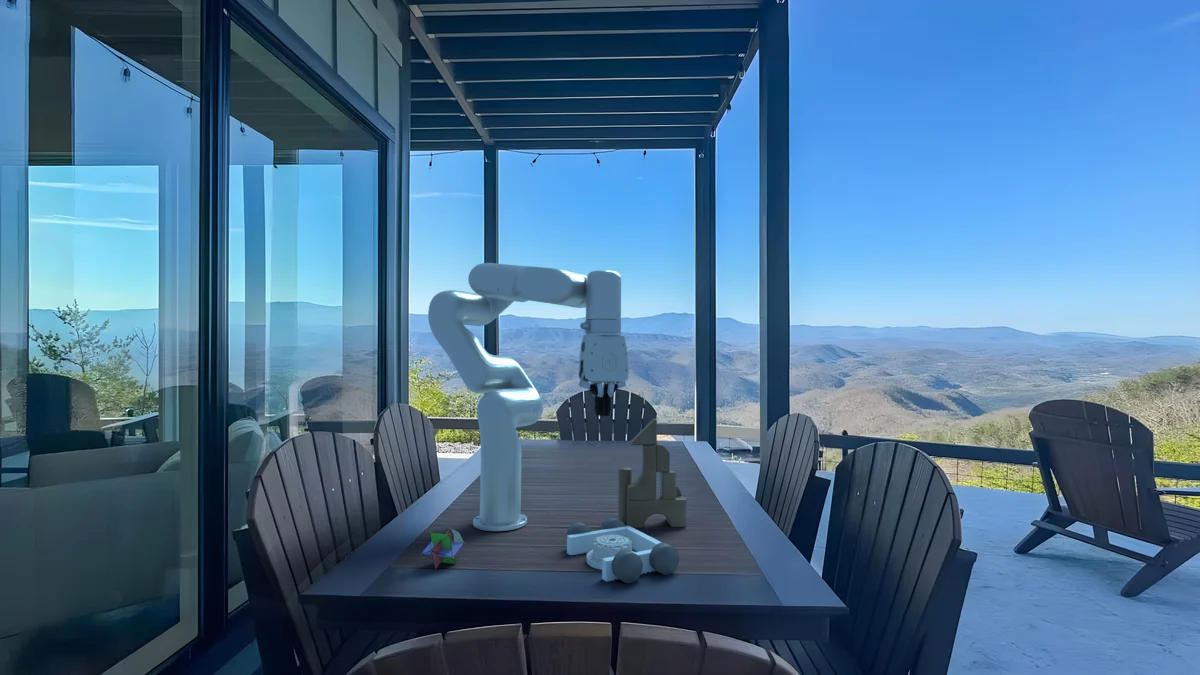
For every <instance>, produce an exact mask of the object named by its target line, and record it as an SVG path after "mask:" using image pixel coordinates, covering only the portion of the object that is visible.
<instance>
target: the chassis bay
mask: <svg viewBox="0 0 1200 675" xmlns="http://www.w3.org/2000/svg"><path fill="white" fill-rule="evenodd" d="M599 528H600V529H599V530H594V531H593V529H592V528H591V527H590V526H588V525H586V524H585V523H584V522H581V521H579V522H578V521H577V522H575V523H572V524H571V525H570V526H569V528H568V529H567V531H566V533H565V534H566V535H565V537H566V554H567V555H569V556H570V555H571V556H574V555H575V556H576V555H581V554H584V553H585V554H587V553H588V552H589V551H591V550H593V540H594V539H595V538H596V537H601V536H602V535H618V536H621V535H622V536H623V537H626V538H629V540H630V541H632V551H633V550H634V553H633V552H631V551H630V550H621V551H619V552H618V553H617V554H616V555H615V556H613V557H608V558H603V559H602V570H601V579H602V580H603V581H605V582H611V581H616V580H621V581H622V582H623V583H626V584H632V583H635V582H637V580H638V579H639V578H640V577H641V575H643V573H644V574H648V573H647V572H649V573H652V571H653V572H658V573H660V574H661V575H664V576H668V575H671V574H672V573H675V571H676V569H677V568H678V567H679V563H680V553H679V551H678V549H677V548H675V547H673V546H672V545H670V544H668V543H666V542H661V541H660V540H658V539H656V538H654V537H652V536H650V535H648V534H646V533H644V532H642V531H640V530H638V529H637V528H632V527H630V526H627V525H626V523H623V522H622V521H620V520H618V518H616V517H607V518H606V519H605V520H604V521H603V522H602V523H601V526H600V527H599ZM615 579H616V580H615ZM631 582H632V583H631Z"/></svg>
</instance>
